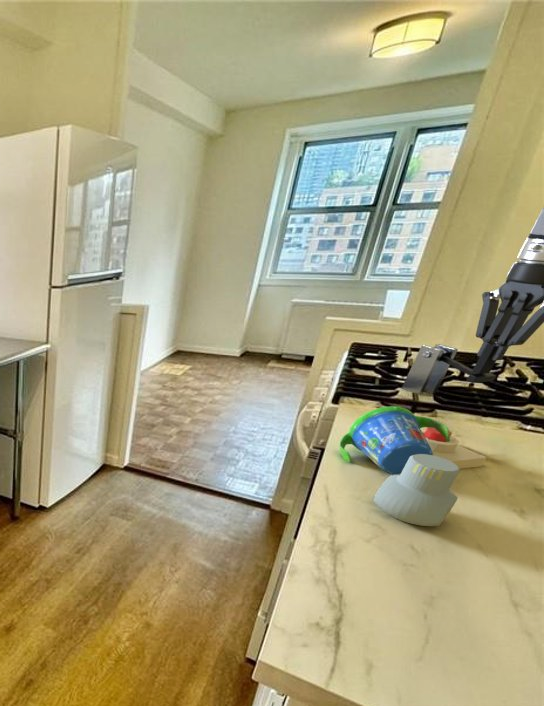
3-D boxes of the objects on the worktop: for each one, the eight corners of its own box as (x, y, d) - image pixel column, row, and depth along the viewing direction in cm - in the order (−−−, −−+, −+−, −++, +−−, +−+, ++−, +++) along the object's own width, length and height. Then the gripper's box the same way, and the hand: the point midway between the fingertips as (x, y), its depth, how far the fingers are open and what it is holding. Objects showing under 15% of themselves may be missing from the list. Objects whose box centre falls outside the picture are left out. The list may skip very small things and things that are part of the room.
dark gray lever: (490, 383, 110) (498, 374, 108) (470, 384, 109) (478, 375, 108) (437, 355, 120) (443, 346, 118) (418, 356, 119) (424, 347, 118)
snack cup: (347, 455, 89) (326, 423, 97) (360, 493, 94) (339, 459, 101) (460, 423, 81) (428, 391, 89) (468, 466, 85) (437, 433, 93)
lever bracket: (456, 403, 118) (483, 353, 112) (424, 406, 117) (450, 355, 111) (407, 386, 129) (430, 339, 123) (378, 388, 128) (399, 341, 121)
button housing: (480, 467, 92) (492, 449, 90) (436, 472, 91) (446, 453, 89) (417, 439, 103) (426, 422, 101) (376, 443, 101) (385, 425, 99)
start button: (452, 442, 94) (457, 434, 93) (436, 443, 93) (441, 435, 92) (433, 433, 97) (437, 426, 96) (418, 435, 96) (422, 427, 95)
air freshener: (428, 540, 74) (461, 485, 69) (363, 514, 80) (389, 462, 75) (448, 514, 79) (480, 462, 74) (386, 492, 85) (412, 442, 80)
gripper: (490, 258, 103) (436, 364, 115) (567, 267, 92) (499, 383, 103) (518, 257, 104) (462, 362, 116) (599, 266, 93) (528, 381, 104)
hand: (480, 372), depth 109 cm, fingers closed
